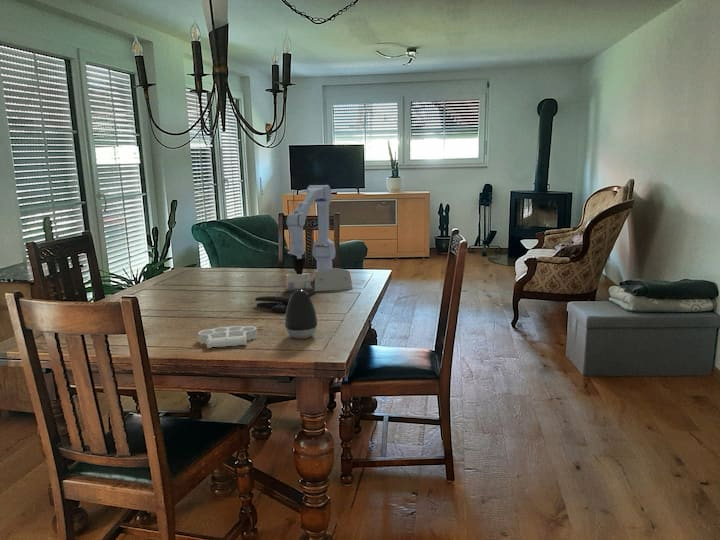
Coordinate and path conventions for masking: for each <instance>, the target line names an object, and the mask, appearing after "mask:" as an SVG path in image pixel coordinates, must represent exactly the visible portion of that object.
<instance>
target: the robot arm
mask: <svg viewBox="0 0 720 540" xmlns="http://www.w3.org/2000/svg"><path fill="white" fill-rule="evenodd" d="M313 203H314V204H316V205H317V207H318V208H317V213H318V214H317V221H318V222H317V224H318V225H317V228H318V230H317V233H318V234H317V238H318V239H316V241H315V242H313V248H312V255H313V258H314V259H315V260H316V272H318V271H321V270H324V269H328V268H333V260H334V258H335V257H336V247H335V242H334V241H332V240H331V239H330V203H332V189H331V187H330V185H329V184H322V185H321V184H319V185H317V184H313V185H312V184H309V185H308V186H307V188H306V196H305V197H304V199H303V201H300V202H299V203H298V204H297V206H296V207H295V209H294V210H293V211H292V212H291V213H289V214H287V216H286V220H285V222H286V225H287V230H288V231H289V243H290V244H289V246H290V251H287V254H288V255H289V257H290V258H291V261H292V264H293V265H292V266H293V269H294V271H295V272H296V273H295V274H297V275H298V274H302V273H304V271H303V270H304V266H305V261H306V260H307V258H306V257H303V256H304V254H305V252H306V251H305V247H304V246H305V245H304V226H305V224H306V220H307V216H308V214H310V211H311V206H312V205H313Z"/></svg>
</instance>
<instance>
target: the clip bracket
mask: <svg viewBox="0 0 720 540" xmlns="http://www.w3.org/2000/svg"><path fill="white" fill-rule="evenodd" d="M310 283H311V280H310V281H305V288H297V289H294V282H289V289H287V286H285V291H286V293H288V294H289V293H293V292H295V291H296V290H304V291H306V292H313V291H314V288H313V287H312V285H311V287H310Z"/></svg>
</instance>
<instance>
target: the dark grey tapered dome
mask: <svg viewBox="0 0 720 540" xmlns="http://www.w3.org/2000/svg"><path fill="white" fill-rule="evenodd" d="M316 294H317V291H315V290H313V291H309V292H308V291H304V290H296V291H295V292H292V293H291V296H290V298H289V299H290V300H289V302H288V306H287V310H286V311H285V319H284V326H285V328H286V331H287V333H288V334H289V336H290V337H292V338H294V339H296V338H297V340H303V339H308V338H310V337H312V336H313V335H314V334H315V332H316V330H317V326H318V317H317V313H316V308H315V306H314V303H313V300H312V298H311V297H313V296H316Z"/></svg>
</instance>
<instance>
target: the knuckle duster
mask: <svg viewBox="0 0 720 540" xmlns="http://www.w3.org/2000/svg"><path fill="white" fill-rule="evenodd" d="M257 329H258V328H257V326H253V325H249V326H248V325H247V326H241V325H232V326H220V327H215V328H210V329H203V330H202V329H201V330H200V331H198V333H197V338H198V342H199V341H200V342H207V344H206V348H207V349H208V348H211V349H213V348H212V347H220V348H226V347H225V346H232V347H239V346H238V345H243V346H244V345H246V346H247V345H248V341H247V340H248V339H253V338H256V337H257V338H258V330H257ZM257 338H256V339H257ZM253 340H254V339H253Z"/></svg>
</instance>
